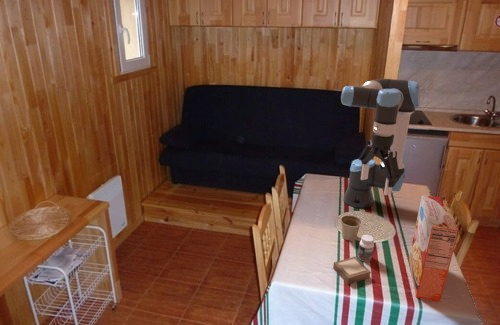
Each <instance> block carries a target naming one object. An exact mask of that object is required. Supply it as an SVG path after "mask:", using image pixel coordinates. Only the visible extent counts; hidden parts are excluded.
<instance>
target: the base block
mask: <svg viewBox="0 0 500 325" xmlns="http://www.w3.org/2000/svg"><path fill="white" fill-rule="evenodd" d="M332 266H333V267H332V269H333V270H334V271H335V272H336V274H338V275H339V277H340V278H341V279H342V280H343V281H344V282H345V283H346V284H347V285H350V284H351V285H352V284H354V283H358V282H361V281H364V280H367V279H370V278H371V270H370V269H369V268H368V267H367V266H365V265H364V264H363V262H361V260H360V259H359V258H358V257H356V256H353V257H349V258H345V259H341V260H338V261H334V262H333V265H332Z"/></svg>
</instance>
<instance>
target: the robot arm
mask: <svg viewBox="0 0 500 325" xmlns="http://www.w3.org/2000/svg"><path fill="white" fill-rule="evenodd" d="M341 91H342V92H341V95H340V101H341V104H342V105H344V106H348V107H354V108H355V107H356V108H357V107H358V108H363V109H371V110H375V112H374V113H375V114H374V120H373V121H374V122H373V126H372V133H371V139H369V140H366V144H365V146H364V148H363V150H362V152H361V153H360V155H359V156H358V158H357V159H354V160H352V161H351V165H350V168H349V177H348V178H349V180H348V186H347V188H346V191H345V193H344V194H343V202H344V203H345V204H347V205H348V206H349V207H353V208H356V209H367V208H370V207H371V206H373V204H374V196H373V190H372V188H377V189H381V190H384V191H383V195H384V196H388V195H392V192H400V191H401V190H402V187H403V183H404V181H405V178H406V175H407V173H408V170H407V169H406V168H405V163H403V159H404V153H405V147H406V142H407V136H408V131H409V130H408V129H409V125H410V121H411V115H412V114H413V113H415V112H416V109H418V108H420V102H421V84H420V83H419V82H418V81H413V80H405V79H391V78H377V79H372V80H369V81H366V82H365V83H364V84H362V85H359V86H353V85H346V86H344V87H343V88H342V90H341ZM375 157H376V158H378V159H379V160H380V161H379V164H376V160H374V158H375Z"/></svg>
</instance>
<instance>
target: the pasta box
mask: <svg viewBox="0 0 500 325" xmlns="http://www.w3.org/2000/svg"><path fill="white" fill-rule="evenodd" d="M458 234H459V228H458V225H457V223H456V220H455V218H454V215H453V214H452V211H451V209H450V206H449V205H448V202H447V200H446V198H445V197H441V196H433V195H427V194H426V195H424V194H422V195H421V198H420V204H419V208H418V212H417V219H416V222H415V227H414V232H413V238H412V240H411V241H412V242H411V247H410V252H409V257H408V262H409V266H410V268H409V269H410V272H411V273H410V274H411V278H412V282H413V289H414V293H415V298H417V299H423V300H429V301H433V302H435V301H436V302H441V300H442V297H443V292H444V289H445V284H446V281H447V277H448V274H449V269H450V265H451V261H452V259H453V258H452V257H453V254H454V250H455V247H456V242H457V239H458Z"/></svg>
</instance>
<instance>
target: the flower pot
mask: <svg viewBox="0 0 500 325" xmlns="http://www.w3.org/2000/svg"><path fill="white" fill-rule="evenodd" d="M339 219H340V224H341V236H342V239H343V240H345V241H355V240H356V239H357V237H358V233H359V230H360V228H361V226H363V221H362V219H361V218H360V217H358V216H356V215H353V214H352V215H351V214H349V215H348V214H347V215H343V216H341V218H339Z"/></svg>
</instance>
